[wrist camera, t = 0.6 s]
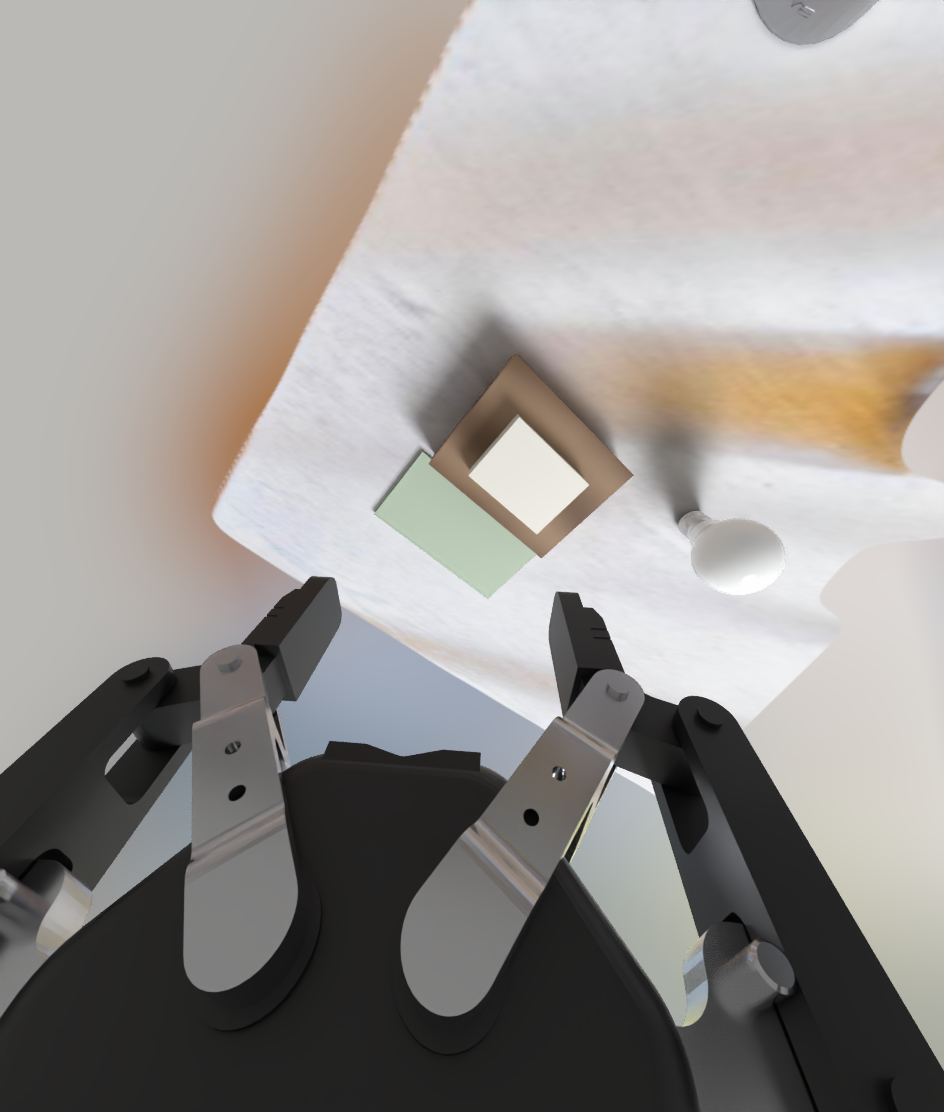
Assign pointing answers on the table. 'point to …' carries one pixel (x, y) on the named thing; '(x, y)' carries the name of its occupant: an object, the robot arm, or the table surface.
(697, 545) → the lightbulb
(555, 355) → the table surface
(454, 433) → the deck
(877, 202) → the table surface
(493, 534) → the mat
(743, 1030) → the robot arm
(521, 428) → the white flat block
